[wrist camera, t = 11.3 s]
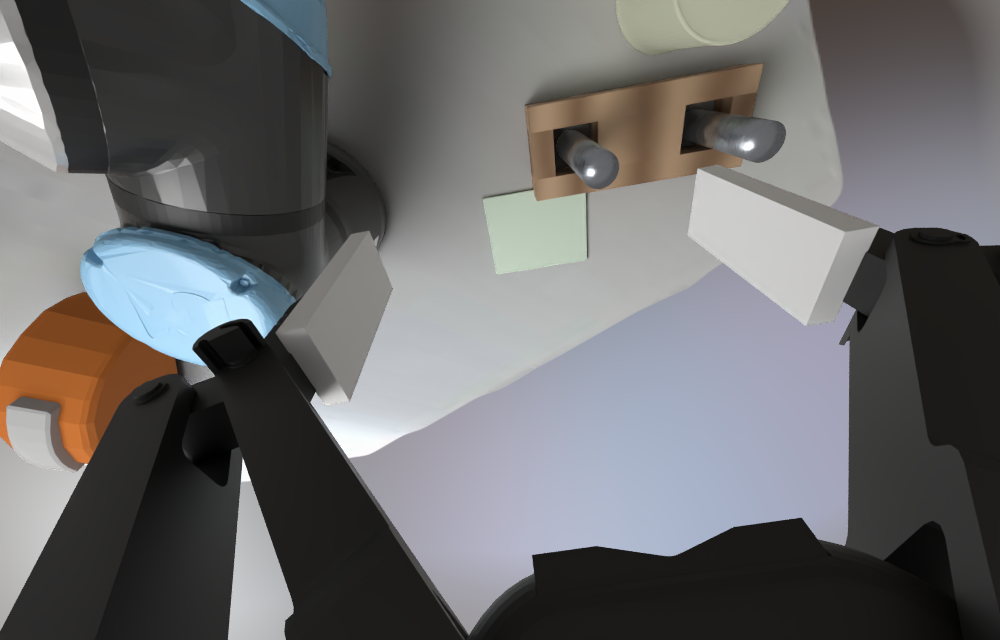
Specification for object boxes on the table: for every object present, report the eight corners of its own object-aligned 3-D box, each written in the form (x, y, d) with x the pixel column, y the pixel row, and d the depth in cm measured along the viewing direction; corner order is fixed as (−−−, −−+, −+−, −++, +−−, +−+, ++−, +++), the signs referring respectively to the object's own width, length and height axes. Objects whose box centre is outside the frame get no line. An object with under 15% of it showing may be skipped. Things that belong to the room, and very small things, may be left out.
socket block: (533, 193, 41) (537, 201, 39) (524, 105, 36) (527, 107, 34) (725, 160, 40) (740, 166, 38) (743, 64, 35) (763, 63, 33)
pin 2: (676, 142, 39) (741, 165, 29) (679, 111, 37) (750, 124, 27) (703, 137, 39) (779, 159, 29) (708, 106, 37) (790, 117, 27)
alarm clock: (95, 278, 45) (-74, 367, 31) (175, 299, 47) (51, 390, 34) (128, 398, 57) (16, 499, 44) (191, 410, 60) (104, 510, 46)
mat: (496, 273, 47) (496, 274, 47) (482, 198, 41) (482, 199, 41) (586, 258, 46) (586, 260, 46) (584, 180, 41) (585, 181, 40)
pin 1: (557, 162, 39) (582, 192, 30) (555, 132, 38) (581, 154, 28) (584, 157, 39) (618, 185, 30) (583, 127, 38) (619, 147, 28)
